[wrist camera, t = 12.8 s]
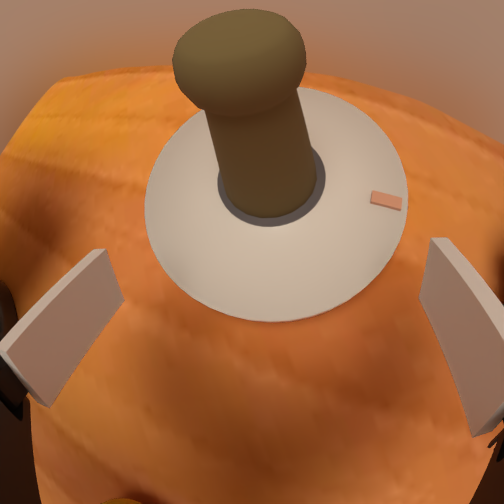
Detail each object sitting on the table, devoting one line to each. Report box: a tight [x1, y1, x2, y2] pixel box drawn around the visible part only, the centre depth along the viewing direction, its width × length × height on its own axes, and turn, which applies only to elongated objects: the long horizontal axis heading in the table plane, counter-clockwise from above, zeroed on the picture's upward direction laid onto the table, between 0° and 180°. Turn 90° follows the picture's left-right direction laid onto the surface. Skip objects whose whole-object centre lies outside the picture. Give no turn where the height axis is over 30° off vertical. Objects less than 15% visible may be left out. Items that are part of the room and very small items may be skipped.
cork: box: [172, 9, 317, 218], centre depth 13 cm, size 6×6×11 cm
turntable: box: [145, 87, 408, 323], centre depth 19 cm, size 18×18×2 cm
